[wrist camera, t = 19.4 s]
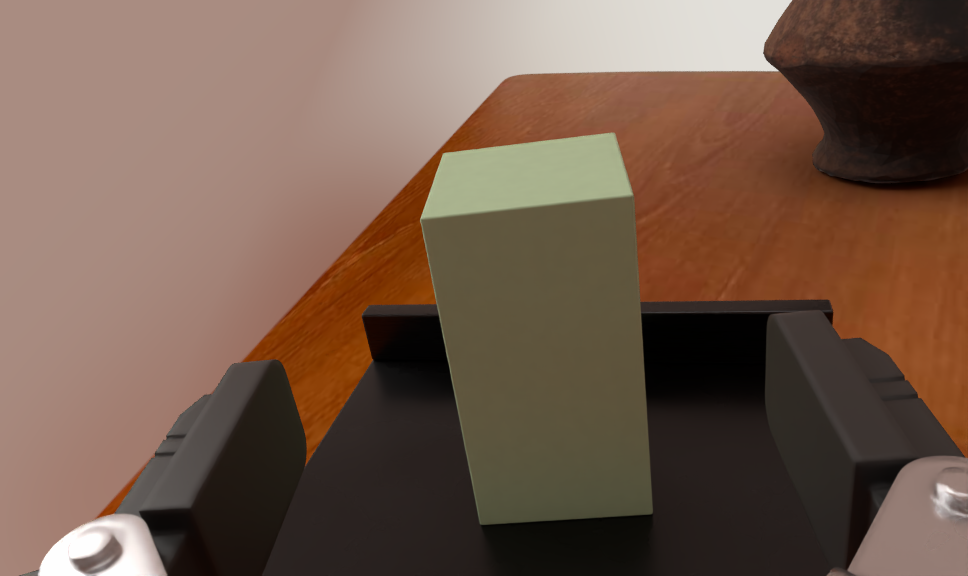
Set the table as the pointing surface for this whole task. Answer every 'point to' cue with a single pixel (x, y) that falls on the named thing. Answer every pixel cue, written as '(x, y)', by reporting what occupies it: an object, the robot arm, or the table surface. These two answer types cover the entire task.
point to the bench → (561, 543)
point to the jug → (880, 84)
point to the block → (543, 327)
